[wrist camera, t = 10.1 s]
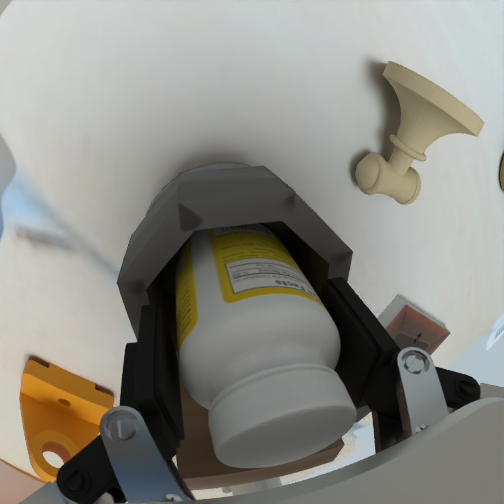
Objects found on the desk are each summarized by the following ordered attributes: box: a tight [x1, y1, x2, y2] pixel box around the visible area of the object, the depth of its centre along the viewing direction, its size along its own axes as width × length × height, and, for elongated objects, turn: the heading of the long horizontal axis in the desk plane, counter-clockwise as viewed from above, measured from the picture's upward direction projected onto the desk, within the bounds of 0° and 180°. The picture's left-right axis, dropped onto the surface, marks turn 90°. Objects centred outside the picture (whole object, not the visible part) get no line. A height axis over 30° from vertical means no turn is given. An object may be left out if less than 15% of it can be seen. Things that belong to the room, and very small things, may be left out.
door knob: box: [355, 61, 484, 205], centre depth 18 cm, size 10×8×8 cm
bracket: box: [19, 360, 114, 483], centre depth 20 cm, size 11×7×12 cm, turn 51°
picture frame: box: [353, 295, 450, 422], centre depth 35 cm, size 16×2×22 cm
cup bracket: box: [117, 162, 353, 490], centre depth 16 cm, size 17×10×14 cm, turn 1°
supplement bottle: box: [175, 223, 357, 468], centre depth 11 cm, size 5×5×10 cm
